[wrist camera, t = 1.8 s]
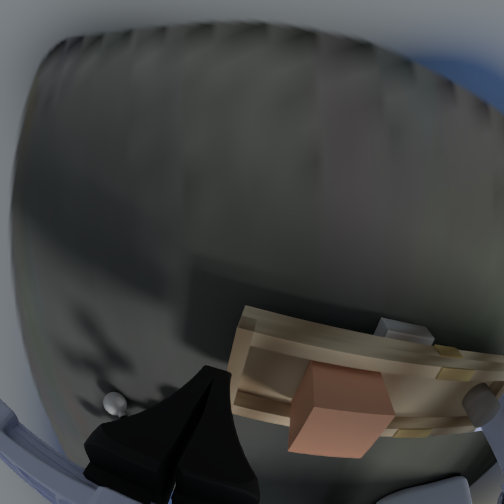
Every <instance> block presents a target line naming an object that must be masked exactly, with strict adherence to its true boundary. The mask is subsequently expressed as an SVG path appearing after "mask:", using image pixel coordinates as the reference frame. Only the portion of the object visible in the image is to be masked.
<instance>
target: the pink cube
mask: <svg viewBox="0 0 504 504" xmlns="http://www.w3.org/2000/svg"><path fill="white" fill-rule="evenodd" d="M395 416H396V415H395V412H394V409H393V406H392V403H391V400H390V397H389V394H388V391H387V388H386V386H385V383H384V380H383V377H382V375H381V372H377V371H370V370H363V369H357V368H351V367H346V366H340V365H335V364H329V363H324V362H319V361H314V360H310V361H309V364H308V366H307V368H306V371H305V373H304V375H303V378H302V380H301V382H300V384H299V386H298V389H297V391H296V393H295V395H294V397H293V399H292V402H291V412H290V428H289V442H288V451H290V452H296V453H303V454H311V455H320V456H331V457H345V458H361V457H362V456H363V455H364V454H365V453H366V451H367V450H368V449H369V448H370V447H371V446H372V445H373V443H374V442H375V441H376V440H377V439H378V437H379V436H380V435H381V434H382V433H383V431H384V430H385V429H386V427H387V426H388V425H389V424H390V422H391V421H392V420H393V418H394V417H395Z"/></svg>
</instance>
